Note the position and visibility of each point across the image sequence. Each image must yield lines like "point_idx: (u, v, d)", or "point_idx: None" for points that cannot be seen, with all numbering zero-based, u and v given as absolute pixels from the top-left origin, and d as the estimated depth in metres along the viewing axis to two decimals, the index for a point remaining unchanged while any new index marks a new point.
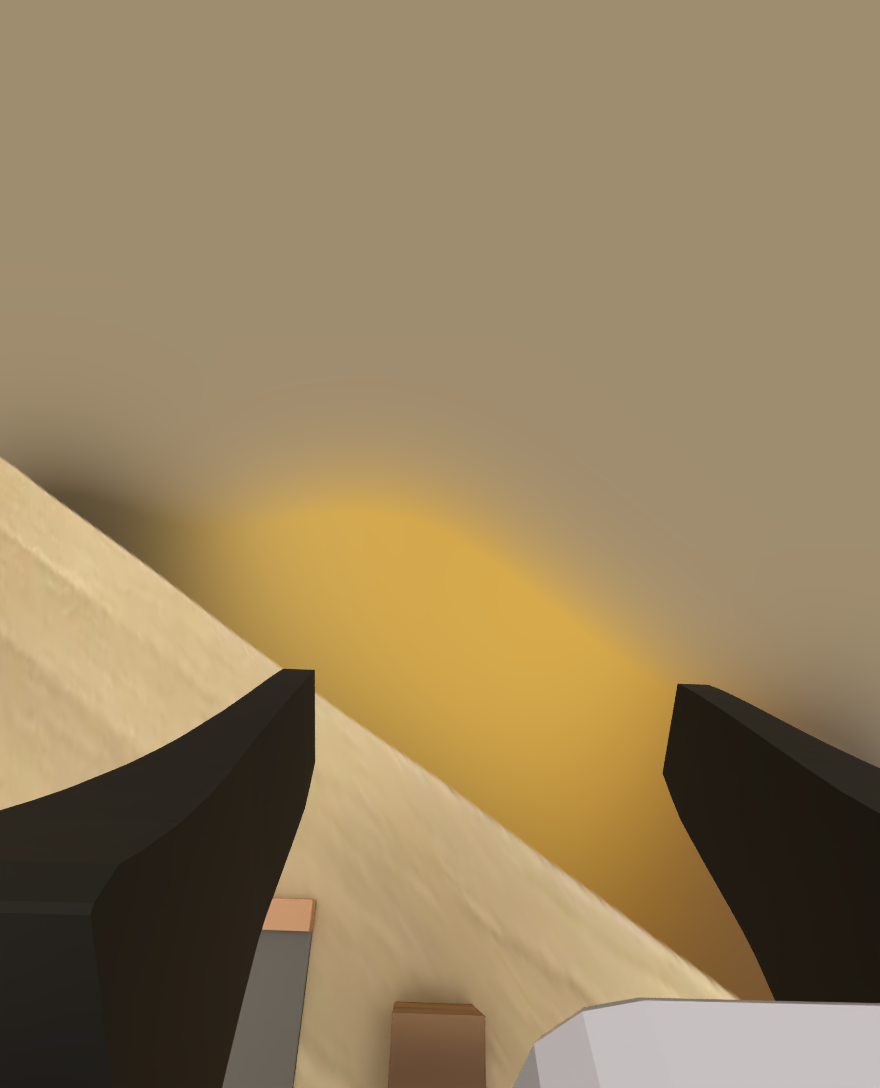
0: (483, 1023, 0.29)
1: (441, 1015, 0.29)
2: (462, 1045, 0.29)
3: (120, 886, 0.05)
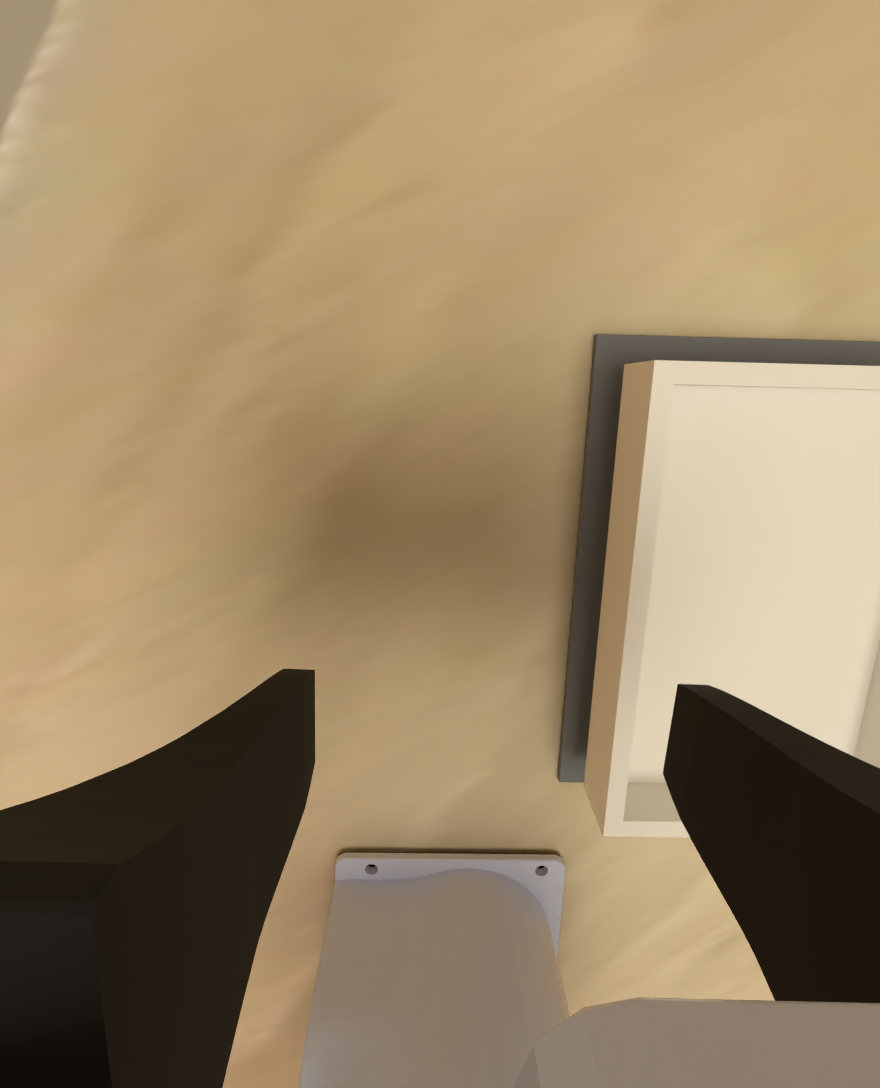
0: None
1: None
2: None
3: (120, 886, 0.05)
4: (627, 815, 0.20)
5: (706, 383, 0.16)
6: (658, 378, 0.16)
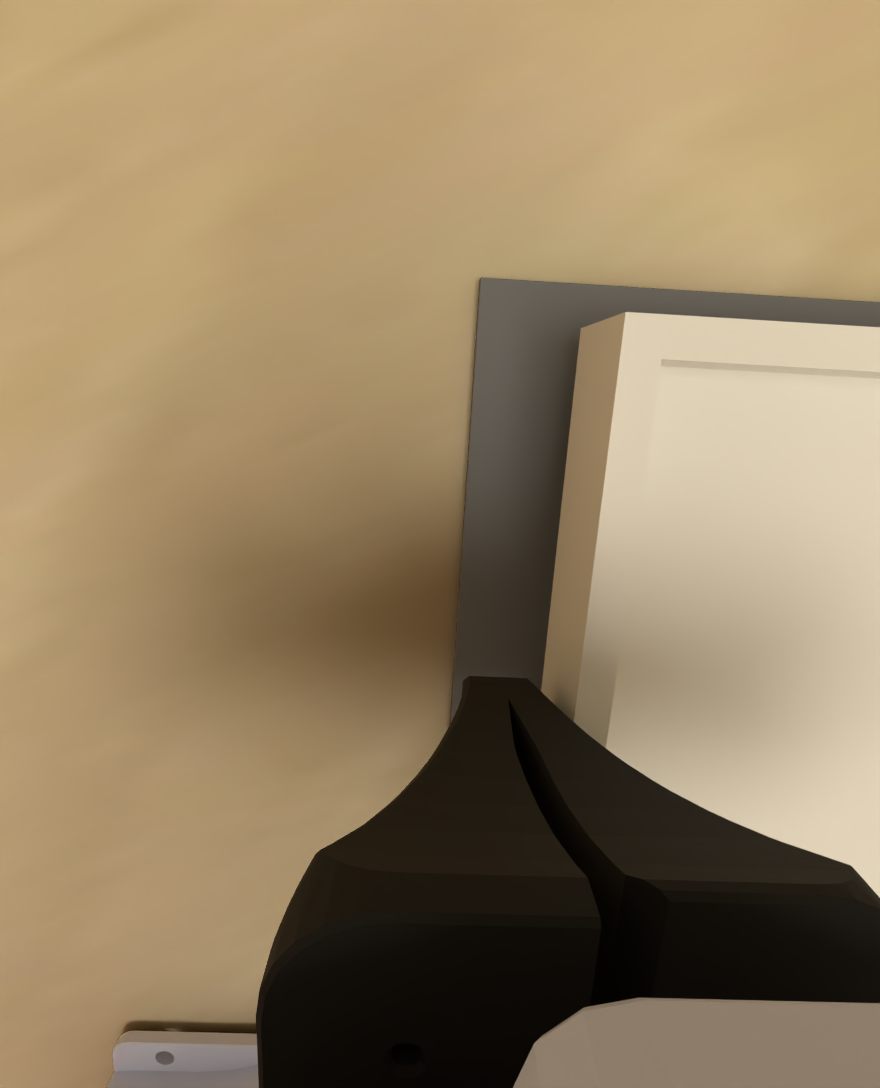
0: None
1: None
2: None
3: None
4: None
5: (722, 360, 0.09)
6: (632, 347, 0.09)
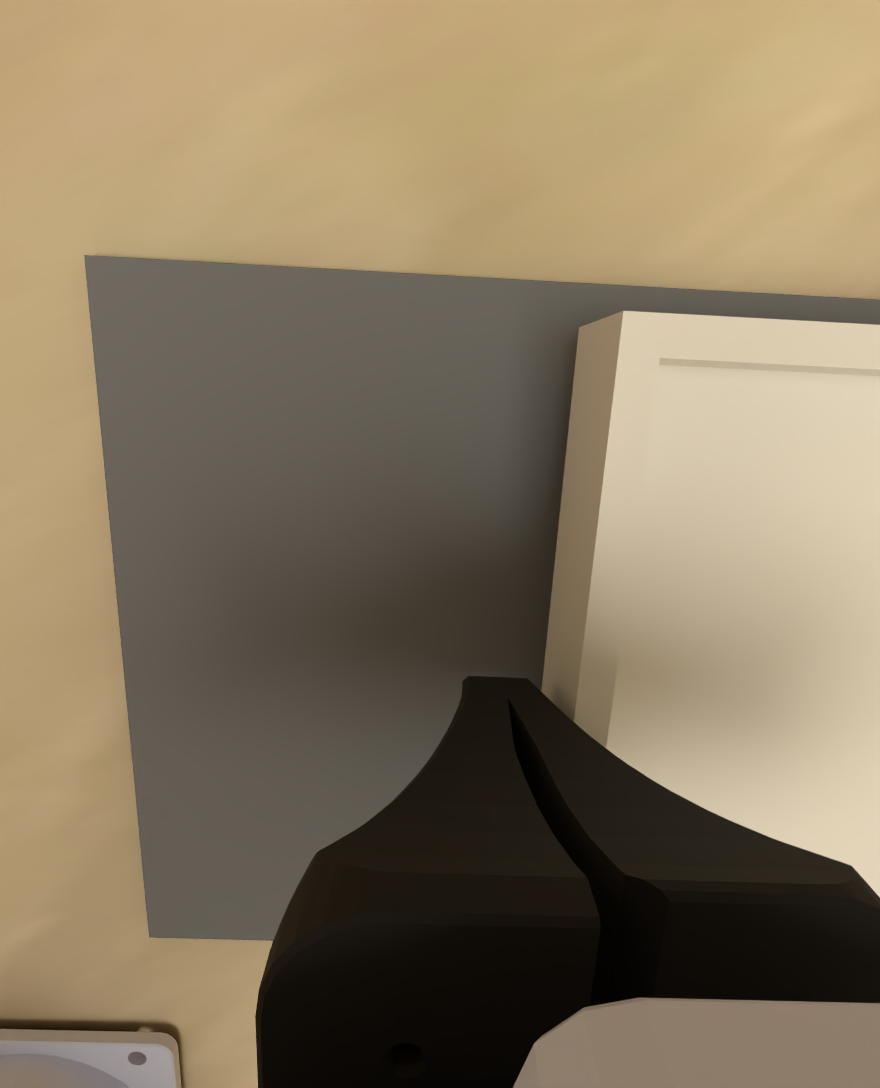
0: None
1: None
2: None
3: None
4: None
5: (720, 358, 0.09)
6: (630, 346, 0.09)
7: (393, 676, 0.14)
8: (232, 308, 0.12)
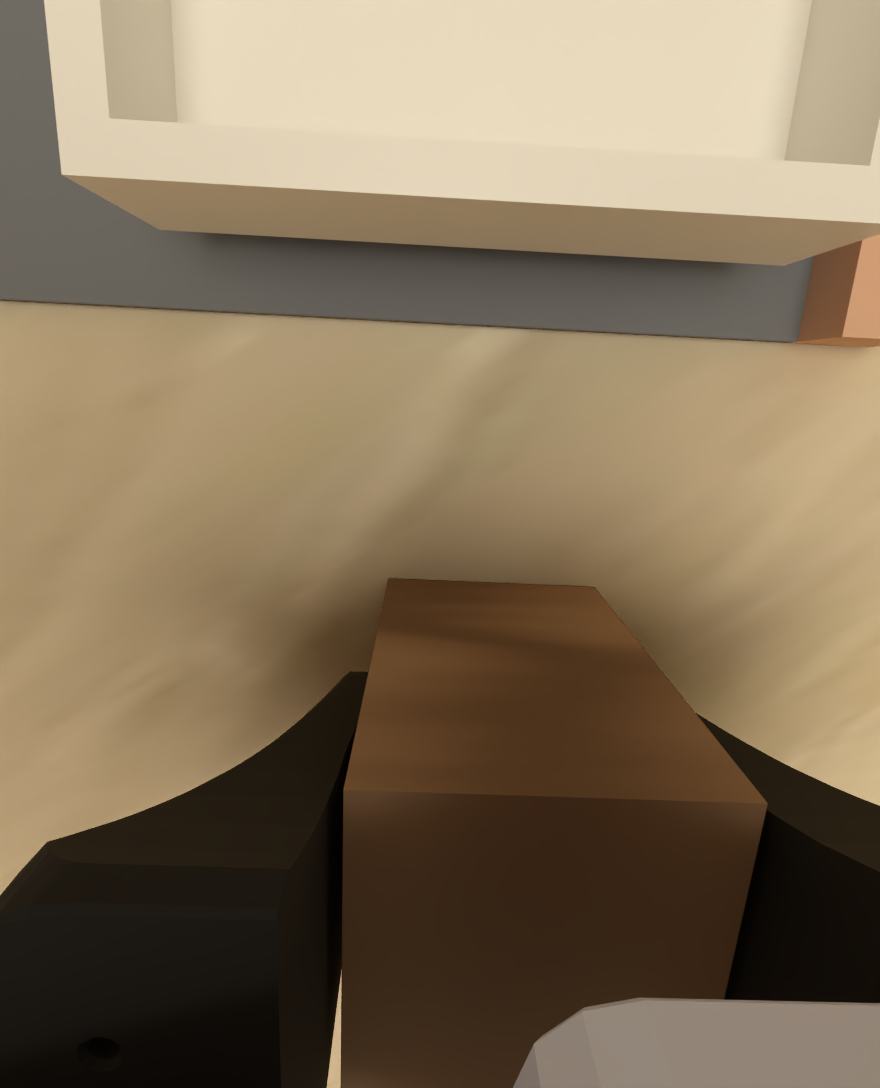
0: None
1: (725, 976, 0.07)
2: None
3: (289, 891, 0.05)
4: (140, 128, 0.07)
5: None
6: None
7: None
8: None
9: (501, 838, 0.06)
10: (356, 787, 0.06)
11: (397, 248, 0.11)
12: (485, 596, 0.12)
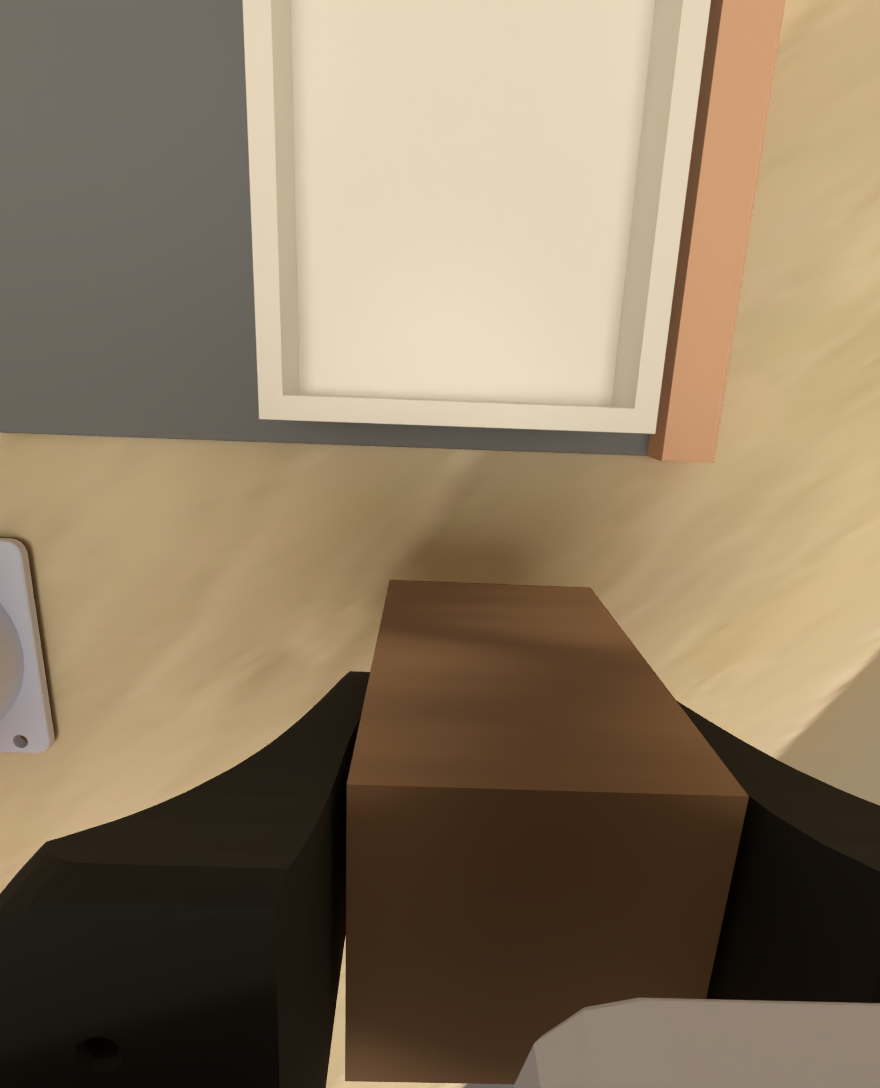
0: None
1: (710, 960, 0.07)
2: None
3: (287, 891, 0.05)
4: (294, 395, 0.15)
5: None
6: None
7: (176, 153, 0.17)
8: None
9: (496, 829, 0.07)
10: (358, 782, 0.07)
11: None
12: (483, 597, 0.13)
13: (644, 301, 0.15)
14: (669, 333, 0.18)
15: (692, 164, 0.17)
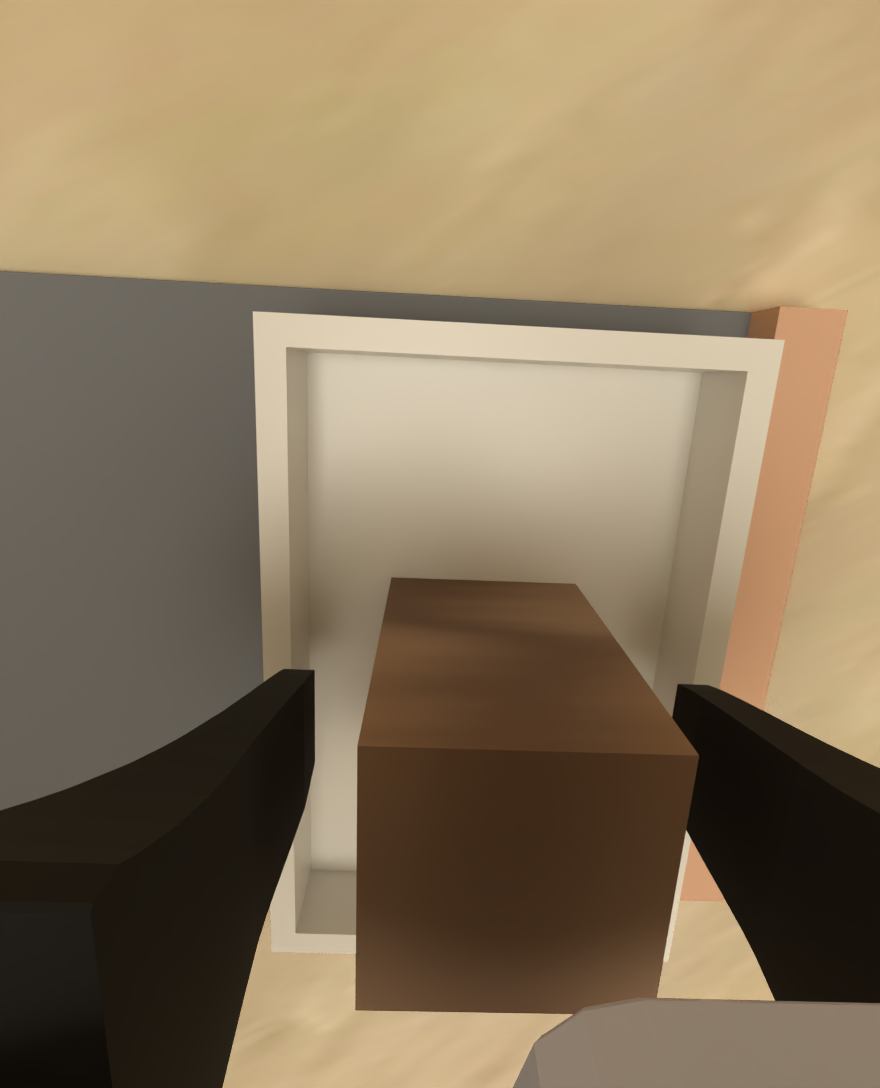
0: None
1: (670, 900, 0.09)
2: (586, 958, 0.09)
3: (120, 886, 0.05)
4: (306, 924, 0.15)
5: (333, 347, 0.11)
6: (262, 338, 0.11)
7: (189, 618, 0.17)
8: (27, 309, 0.15)
9: (485, 785, 0.08)
10: (367, 744, 0.08)
11: None
12: (477, 592, 0.14)
13: None
14: None
15: None
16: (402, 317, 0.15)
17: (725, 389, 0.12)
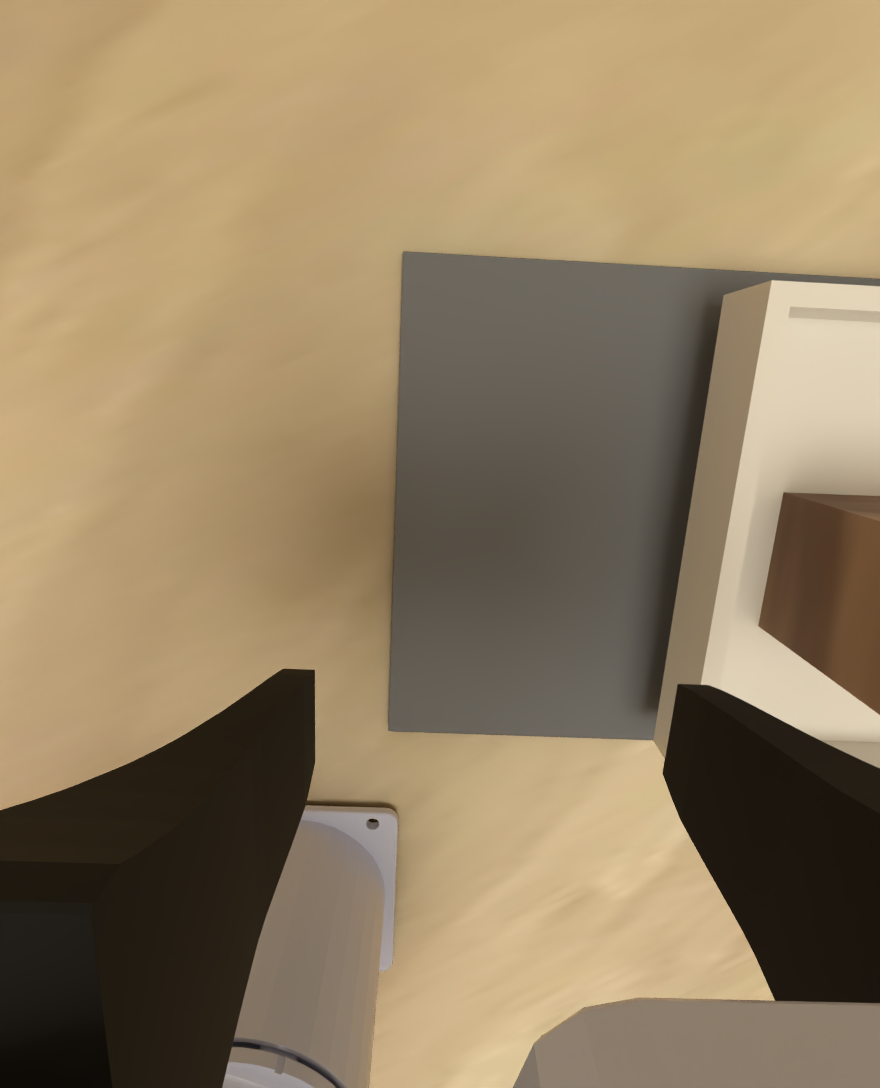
0: None
1: None
2: None
3: (120, 886, 0.05)
4: None
5: (823, 307, 0.16)
6: (774, 300, 0.15)
7: (574, 535, 0.21)
8: (492, 285, 0.19)
9: None
10: None
11: None
12: (867, 500, 0.18)
13: None
14: None
15: None
16: None
17: None
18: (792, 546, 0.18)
